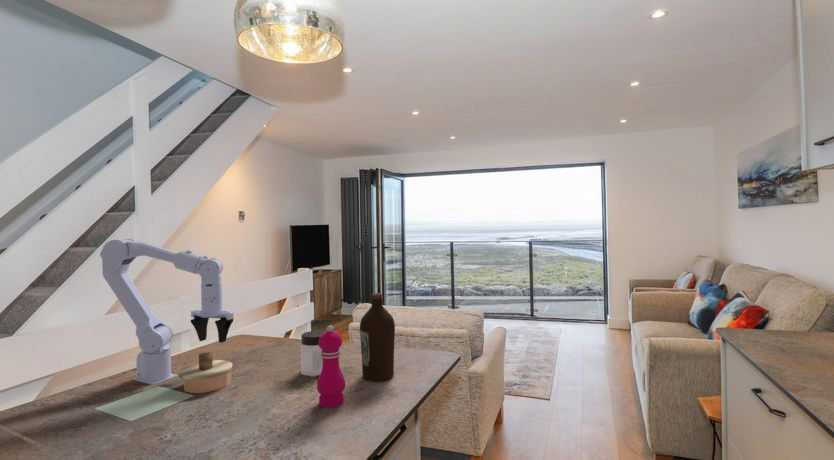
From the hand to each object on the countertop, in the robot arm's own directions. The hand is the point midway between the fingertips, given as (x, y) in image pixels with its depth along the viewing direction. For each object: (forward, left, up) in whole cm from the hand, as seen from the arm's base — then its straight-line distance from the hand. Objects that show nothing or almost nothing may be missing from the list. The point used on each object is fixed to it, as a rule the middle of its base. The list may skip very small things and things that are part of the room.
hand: (212, 341), depth 128 cm
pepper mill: (+47, -1, -11) cm, 48 cm away
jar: (+28, +15, -11) cm, 33 cm away
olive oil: (+48, +20, -11) cm, 53 cm away
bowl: (+7, -7, -10) cm, 14 cm away
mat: (+3, -22, -10) cm, 25 cm away
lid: (+7, -8, -6) cm, 12 cm away
